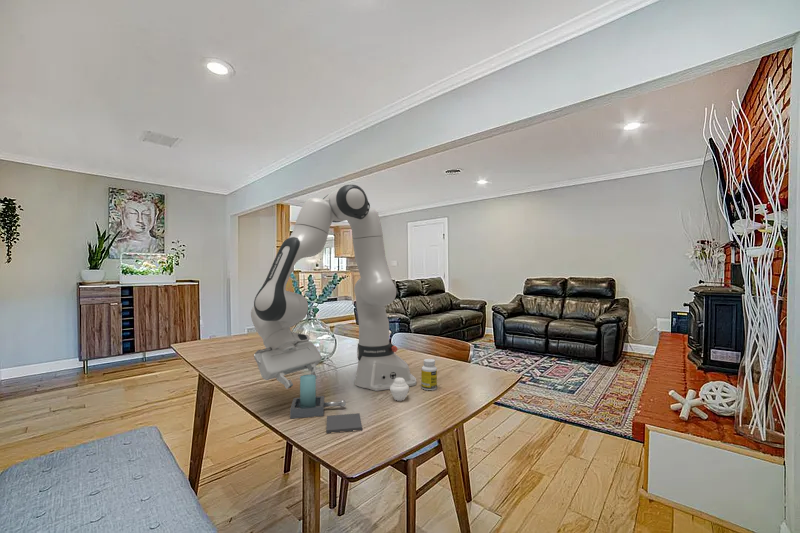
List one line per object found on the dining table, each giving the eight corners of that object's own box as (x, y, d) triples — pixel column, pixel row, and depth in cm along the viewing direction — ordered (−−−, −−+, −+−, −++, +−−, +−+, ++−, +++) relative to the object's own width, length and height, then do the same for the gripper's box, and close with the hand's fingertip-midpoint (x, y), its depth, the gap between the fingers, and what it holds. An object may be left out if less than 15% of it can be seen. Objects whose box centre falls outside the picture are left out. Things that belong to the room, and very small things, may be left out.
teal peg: (315, 407, 106) (316, 374, 106) (315, 413, 102) (315, 378, 102) (300, 408, 105) (300, 375, 105) (299, 414, 101) (299, 379, 101)
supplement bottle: (432, 392, 119) (432, 363, 119) (418, 389, 122) (418, 360, 122) (439, 387, 124) (439, 359, 124) (425, 384, 126) (425, 357, 127)
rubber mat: (359, 416, 100) (359, 413, 100) (362, 430, 91) (362, 427, 91) (326, 418, 98) (326, 415, 98) (326, 433, 89) (326, 430, 89)
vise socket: (345, 402, 110) (345, 394, 110) (346, 414, 101) (346, 405, 101) (293, 406, 107) (293, 397, 107) (290, 418, 98) (290, 409, 98)
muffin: (410, 402, 110) (410, 379, 110) (391, 403, 109) (391, 380, 109) (407, 395, 116) (407, 373, 116) (388, 396, 115) (388, 374, 115)
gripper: (256, 344, 100) (277, 386, 95) (311, 334, 117) (332, 368, 112) (246, 358, 103) (267, 399, 97) (302, 345, 120) (322, 380, 114)
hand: (302, 382), depth 104 cm, fingers open, 8 cm apart
